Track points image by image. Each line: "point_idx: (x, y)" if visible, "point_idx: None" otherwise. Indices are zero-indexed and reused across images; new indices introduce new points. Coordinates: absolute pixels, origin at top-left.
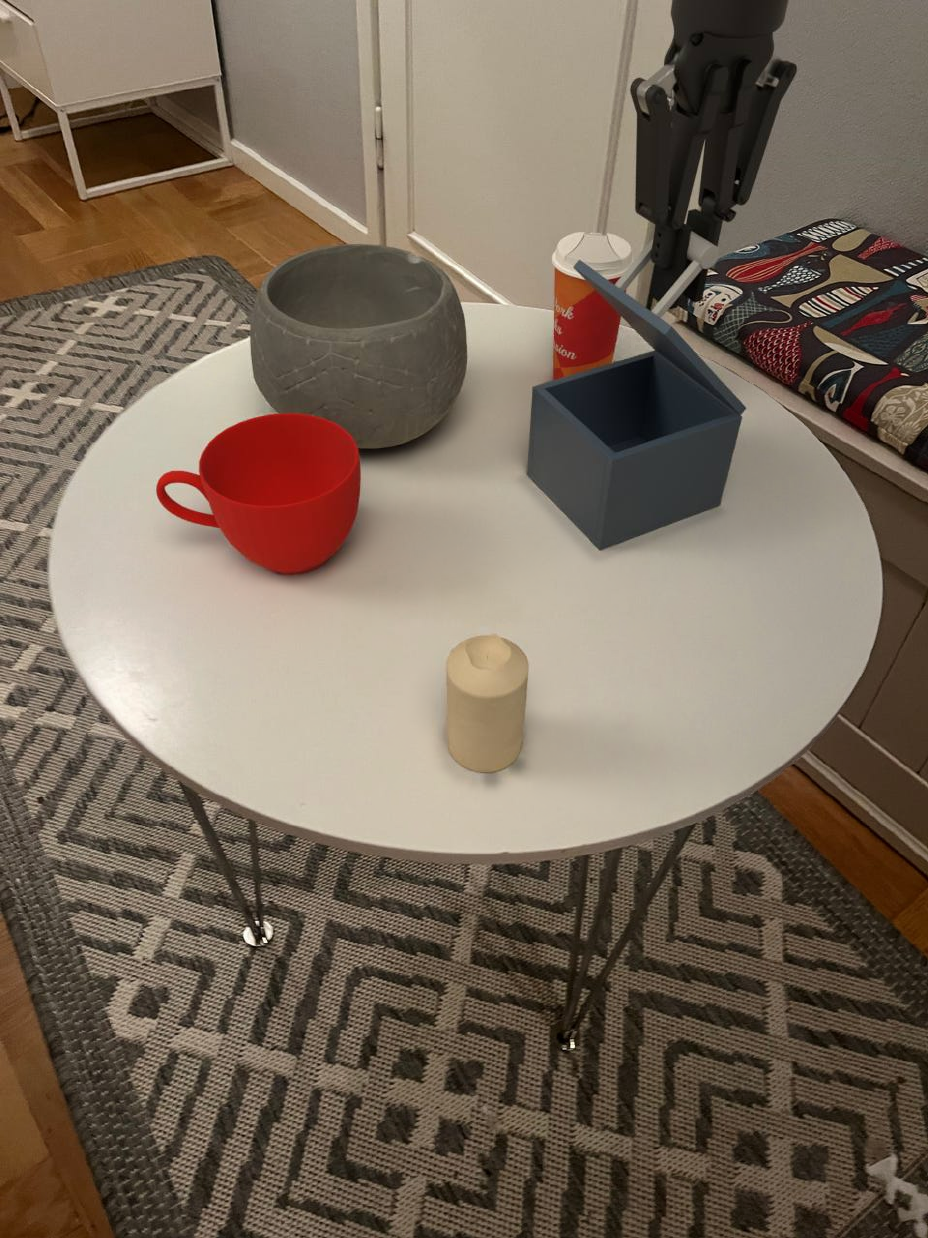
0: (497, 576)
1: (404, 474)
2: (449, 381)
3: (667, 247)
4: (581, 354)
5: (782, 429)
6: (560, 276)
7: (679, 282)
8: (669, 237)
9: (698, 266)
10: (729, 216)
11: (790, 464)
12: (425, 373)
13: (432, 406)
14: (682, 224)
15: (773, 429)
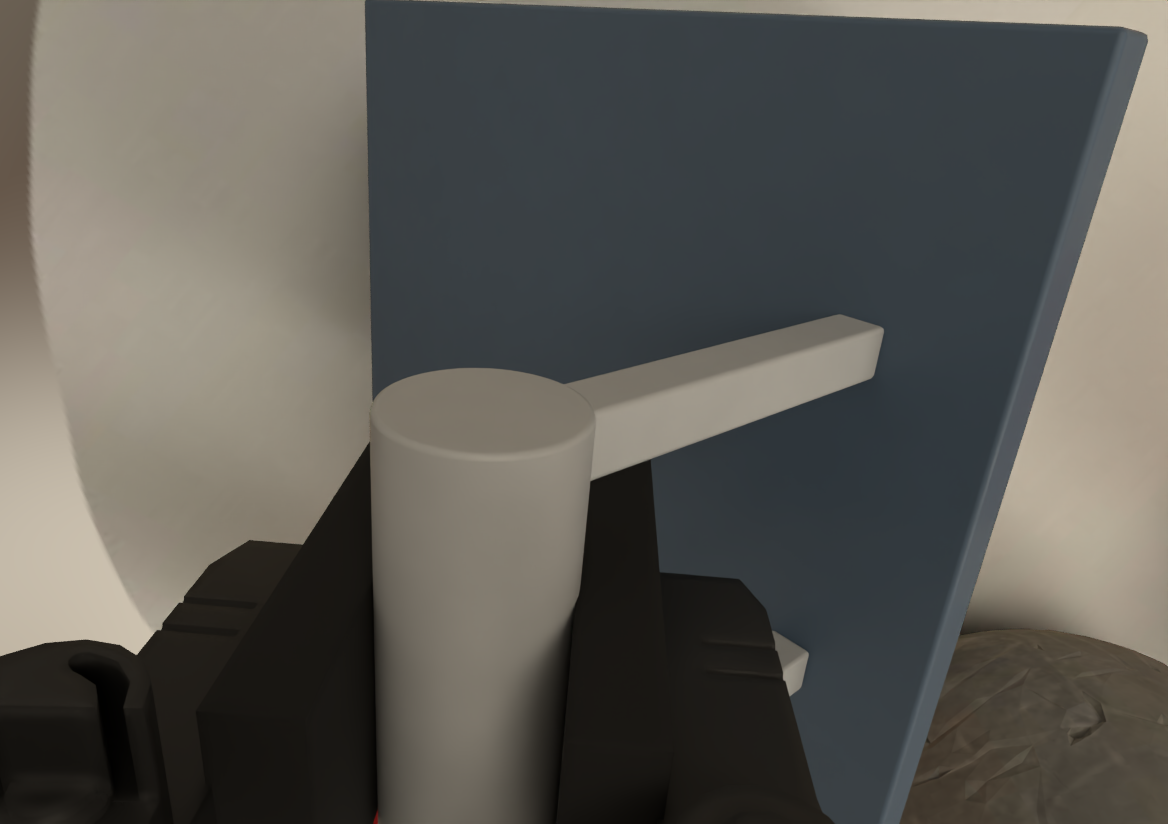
0: (1165, 128)
1: (1037, 561)
2: (987, 710)
3: (750, 686)
4: None
5: (73, 196)
6: None
7: (724, 401)
8: (756, 755)
9: (597, 400)
10: (65, 684)
11: (152, 52)
12: (1125, 747)
13: (1043, 663)
14: (689, 816)
15: (98, 210)
